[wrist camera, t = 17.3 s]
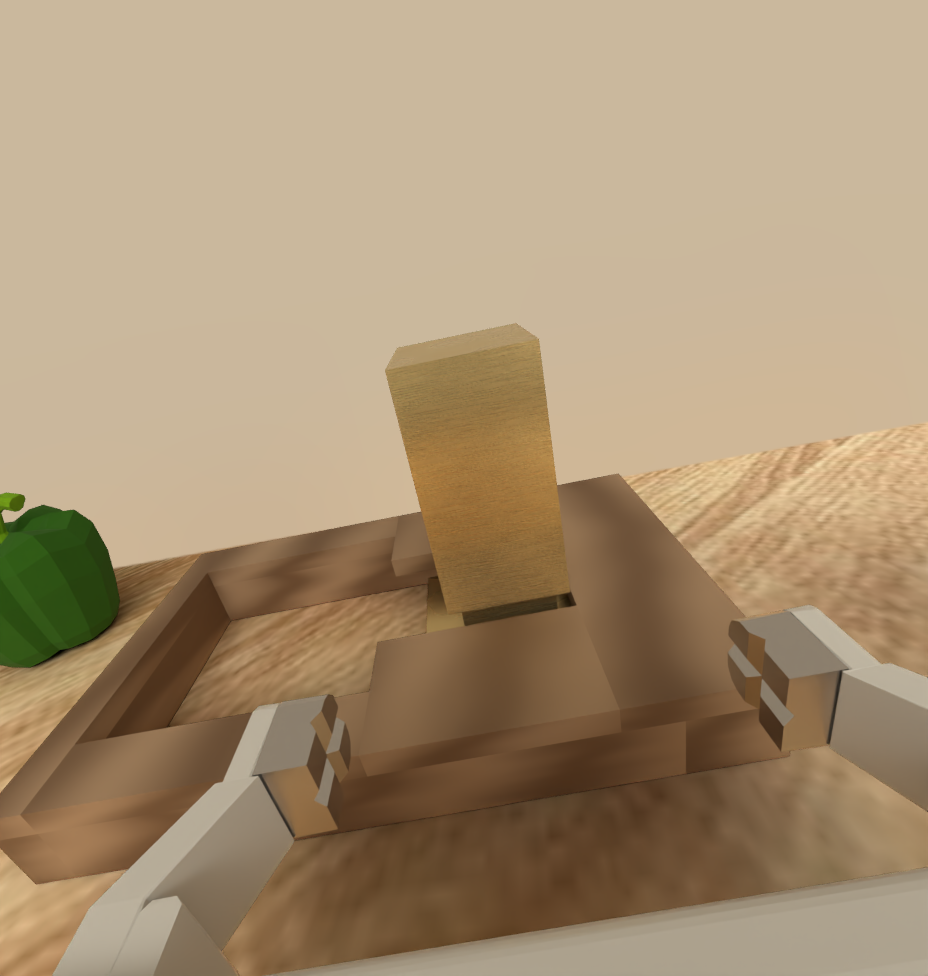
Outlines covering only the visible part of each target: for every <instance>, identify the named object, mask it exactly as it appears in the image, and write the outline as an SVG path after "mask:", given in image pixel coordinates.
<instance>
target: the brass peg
mask: <svg viewBox="0 0 928 976" xmlns="http://www.w3.org/2000/svg"><path fill="white" fill-rule="evenodd" d="M385 372H386V376H387V380H388V384H389V388H390V392H391V395H392V399H393V403H394V407H395V411H396V415H397V419H398V423H399V427H400V431H401V434H402V438H403V442H404V446H405V450H406V454H407V457H408V461H409V465H410V469H411V473H412V477H413V481H414V485H415V489H416V493H417V496H418V500H419V504H420V508H421V512H422V516H423V520H424V524H425V527H426V531H427V535H428V539H429V543H430V547H431V551H432V555H433V558H434V562H435V566H436V570H437V574H438V576H435V577H429V578H428V599H427V627H426V633H430V632H435V631H440V630H446V629H451V628H457V627H462V626H468V625H473V624H478V623H484V622H489V621H495V620H500V619H506V618H511V617H516V616H522V615H527V614H533V613H538V612H544V611H549V610H554V609H560V608H565V607H571V603H570V601H569V598H568V596H567V593H570V587H569V579H568V571H567V563H566V555H565V547H564V539H563V531H562V523H561V514H560V506H559V498H558V490H557V482H556V474H555V466H554V458H553V450H552V441H551V434H550V425H549V418H548V409H547V401H546V393H545V385H544V377H543V369H542V361H541V353H540V344H539V339H538V338H537V337H535V336H534V335H532V334H531V333H530V332H528V331H526V330H525V329H524V328H522V327H521V326H519V325H518V324H516V323H515V324H511V325H506V326H501V327H496V328H491V329H486V330H482V331H476V332H472V333H467V334H462V335H457V336H452V337H447V338H443V339H438V340H433V341H428V342H424V343H418V344H414V345H409V346H404V347H399V348H397V350H396V351H395V353H394V355H393V357H392V359H391V360H390V362H389V364H388V366H387V368H386V369H385Z"/></svg>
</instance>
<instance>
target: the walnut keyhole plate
mask: <svg viewBox="0 0 928 976" xmlns="http://www.w3.org/2000/svg"><path fill="white" fill-rule="evenodd" d="M557 490H558V498H559V506H560V514H561V523H562V531H563V539H564V547H565V555H566V563H567V571H568V579H569V587H570V593H567V596H568V598H569V601H570V603H571V607H565V608H560V609H554V610H549V611H544V612H538V613H533V614H527V615H522V616H516V617H511V618H506V619H500V620H495V621H489V622H484V623H478V624H473V625H468V626H462V627H457V628H451V629H446V630H440V631H435V632H430V633H424V634H419V635H413V636H408V637H402V638H397V639H392V640H386V641H381V642H378V643H377V649H376V655H375V661H374V667H373V673H372V679H371V685H370V691H368V692H362V693H357V694H351V695H346V696H340V697H335V698H334V699H335V701H336V703H337V705H338V711H337V715H336V717H337V718H339V719H340V720H342V721H344V722H345V724H346V727H347V729H348V732H349V737H350V742H351V759H350V765H349V772H348V773H347V774H346V776H345V777H344V778H343V779H342V781H341V782H340V785H341V787H342V790H343V792H344V799H343V804H342V810H341V815H340V820H339V826H338V829H336V830H331V831H326V832H321V833H317V834H312V835H307V836H302V837H297V838H294V840H300V839H306V838H312V837H317V836H323V835H329V834H335V833H341V832H347V831H353V830H359V829H365V828H370V827H376V826H382V825H388V824H394V823H400V822H406V821H412V820H417V819H423V818H429V817H435V816H441V815H447V814H453V813H459V812H464V811H470V810H476V809H482V808H488V807H494V806H500V805H506V804H511V803H517V802H523V801H529V800H535V799H541V798H547V797H553V796H558V795H564V794H570V793H576V792H582V791H588V790H594V789H600V788H605V787H611V786H617V785H623V784H629V783H635V782H641V781H647V780H652V779H658V778H664V777H670V776H676V775H682V774H688V773H694V772H700V771H705V770H711V769H717V768H723V767H729V766H735V765H741V764H747V763H752V762H758V761H764V760H770V759H776V758H782V757H788V756H790V751H786V752H781V751H780V750H779V749H778V747H777V746H776V744H775V743H774V742H773V740H772V739H771V737H770V736H769V735H768V733H767V732H766V731H765V729H764V728H763V726H762V725H761V724H760V722H759V709H758V708H756V707H754V706H752V705H750V704H748V703H747V702H745V701H744V700H743V698H742V697H741V695H740V694H739V693H738V691H737V689H736V687H735V685H734V683H733V681H732V679H731V676H730V672H729V668H728V652H729V650H730V649H731V648H732V647H733V645H734V644H735V643H734V642H733V641H732V640H731V638H730V637H729V636H728V633H729V625H730V623H731V621H732V620H734V619H739V618H744V617H745V616H744V615H743V614H742V612H741V611H740V610H739V609H738V608H737V607H736V606H735V605H734V603H733V602H732V601H731V600H730V599H729V598H728V597H727V595H726V594H725V593H724V592H723V591H722V590H721V589H720V588H719V586H718V585H717V584H716V583H715V582H714V581H713V580H712V579H711V577H710V576H709V575H708V574H707V573H706V572H705V571H704V570H703V568H702V567H701V566H700V565H699V564H698V563H697V562H696V561H695V559H694V558H693V557H692V556H691V555H690V554H689V553H688V551H687V550H686V549H685V548H684V547H683V546H682V545H681V544H680V542H679V541H678V540H677V539H676V538H675V537H674V536H673V535H672V533H671V532H670V531H669V530H668V529H667V528H666V527H665V526H664V524H663V523H662V522H661V521H660V520H659V519H658V518H657V516H656V515H655V514H654V513H653V512H652V511H651V510H650V509H649V507H648V506H647V505H646V504H645V503H644V502H643V501H642V500H641V498H640V497H639V496H638V495H637V494H636V493H635V492H634V491H633V489H632V488H631V487H630V486H629V485H628V484H627V483H626V482H625V480H624V479H623V478H622V477H621V476H620V475H619V474H614V475H608V476H603V477H598V478H593V479H588V480H583V481H578V482H572V483H568V484H562V485H557ZM435 576H438V574H437V570H436V566H435V562H434V558H433V555H432V551H431V547H430V543H429V539H428V535H427V531H426V527H425V524H424V520H423V516H422V512H417V513H412V514H407V515H402V516H397V517H391V518H386V519H381V520H376V521H371V522H365V523H360V524H355V525H350V526H345V527H340V528H334V529H329V530H324V531H319V532H314V533H309V534H303V535H298V536H293V537H288V538H283V539H278V540H272V541H267V542H262V543H257V544H252V545H247V546H241V547H236V548H231V549H226V550H221V551H216V552H210V553H205V554H201V556H200V557H199V558H198V559H197V560H196V561H195V563H194V564H193V565H192V566H191V567H190V569H189V570H188V571H187V572H186V573H185V575H184V576H183V577H182V578H181V579H180V580H179V582H178V583H177V584H176V585H175V586H174V588H173V589H172V590H171V591H170V592H169V594H168V595H167V596H166V597H165V598H164V599H163V601H162V602H161V603H160V604H159V605H158V607H157V608H156V609H155V610H154V611H153V613H152V614H151V615H150V616H149V617H148V618H147V620H146V621H145V622H144V623H143V624H142V626H141V627H140V628H139V629H138V630H137V632H136V633H135V634H134V635H133V636H132V637H131V639H130V640H129V641H128V642H127V643H126V645H125V646H124V647H123V648H122V649H121V650H120V652H119V653H118V654H117V655H116V656H115V658H114V659H113V660H112V661H111V662H110V664H109V665H108V666H107V667H106V668H105V669H104V671H103V672H102V673H101V674H100V675H99V677H98V678H97V679H96V680H95V681H94V683H93V684H92V685H91V686H90V687H89V688H88V690H87V691H86V692H85V693H84V694H83V696H82V697H81V698H80V699H79V700H78V702H77V703H76V704H75V705H74V706H73V707H72V709H71V710H70V711H69V712H68V713H67V715H66V716H65V717H64V718H63V719H62V721H61V722H60V723H59V724H58V725H57V726H56V728H55V729H54V730H53V731H52V732H51V734H50V735H49V736H48V737H47V738H46V740H45V741H44V742H43V743H42V744H41V745H40V747H39V748H38V749H37V750H36V751H35V753H34V754H33V755H32V756H31V757H30V758H29V760H28V761H27V762H26V763H25V764H24V766H23V767H22V768H21V769H20V770H19V772H18V773H17V774H16V775H15V776H14V777H13V779H12V780H11V781H10V782H9V783H8V785H7V786H6V787H5V788H4V789H3V791H2V792H1V793H0V848H1V849H2V850H3V851H4V852H5V854H6V855H7V856H8V857H9V858H10V859H11V860H12V861H13V862H14V863H15V864H16V865H17V866H18V867H19V868H20V869H21V870H22V871H23V872H24V873H25V874H26V875H27V876H28V877H29V878H30V879H31V880H32V881H33V882H34V883H35V884H41V883H47V882H53V881H59V880H65V879H71V878H77V877H82V876H88V875H94V874H100V873H106V872H112V871H118V870H124V869H129V868H130V867H131V866H132V865H133V864H134V863H135V862H136V861H137V860H138V859H139V858H140V857H141V856H142V855H143V854H144V853H145V852H146V851H147V850H148V849H149V848H150V847H152V846H153V845H154V844H155V843H156V842H157V841H158V840H159V839H160V838H161V837H162V836H163V835H164V834H165V833H166V832H167V831H168V830H169V829H170V828H171V827H172V826H173V825H174V824H175V823H176V822H177V821H178V820H179V819H180V818H181V817H182V816H183V815H184V814H185V813H186V812H187V811H188V810H189V809H190V808H191V807H192V806H193V805H194V804H195V803H196V802H197V801H198V800H199V799H200V798H201V797H202V796H203V795H204V794H205V793H206V792H207V791H208V790H209V789H210V788H211V787H212V786H213V785H214V784H215V783H220V782H223V780H224V778H225V775H226V773H227V771H228V768H229V766H230V764H231V761H232V759H233V757H234V754H235V752H236V750H237V747H238V745H239V743H240V740H241V738H242V736H243V733H244V731H245V729H246V726H247V724H248V722H249V719H250V717H251V715H252V713H253V712H252V713H246V714H241V715H235V716H230V717H224V718H218V719H213V720H207V721H202V722H196V723H191V724H185V725H180V726H174V727H169V728H167V726H168V725H169V723H170V721H171V720H172V718H173V716H174V715H175V713H176V711H177V710H178V708H179V706H180V705H181V703H182V701H183V700H184V698H185V696H186V695H187V693H188V691H189V690H190V688H191V686H192V685H193V683H194V681H195V680H196V678H197V676H198V675H199V673H200V671H201V670H202V668H203V666H204V665H205V663H206V661H207V660H208V658H209V656H210V655H211V653H212V651H213V650H214V648H215V646H216V645H217V643H218V641H219V640H220V638H221V636H222V635H223V633H224V631H225V630H226V628H227V626H228V625H229V623H230V621H231V620H236V619H242V618H247V617H252V616H258V615H263V614H268V613H274V612H279V611H284V610H290V609H295V608H300V607H306V606H311V605H316V604H321V603H327V602H332V601H337V600H343V599H348V598H353V597H359V596H364V595H369V594H375V593H380V592H385V591H391V590H396V589H401V588H407V587H412V586H417V585H423V584H428V578H429V577H435Z"/></svg>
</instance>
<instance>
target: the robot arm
mask: <svg viewBox="0 0 928 976" xmlns="http://www.w3.org/2000/svg"><path fill="white" fill-rule="evenodd" d="M728 636H729V637H730V638H731V640H732V641H733V642H734V643H735V644H734V645H733V647H732V648H731V649H730V650H729V652H728V668H729V672H730V676H731V679H732V681H733V683H734V685H735V687H736V689H737V691H738V693H739V694H740V695H741V697H742V698H743V700H744V701H745V702H747V703H748V704H750V705H752V706H754V707H756V708H758V709H759V722H760V724H761V725H762V726H763V728H764V729H765V731H766V732H767V733H768V735H769V736H770V737H771V739H772V740H773V742H774V743H775V744H776V746H777V747H778V749H779V750H780V751H781V752H786V751H793V750H800V749H807V748H814V747H821V746H828V745H830V746H829V748H830V749H832V750H833V751H835V752H836V753H838V754H839V755H841V756H843V757H844V758H846V759H847V760H849V761H850V762H852V763H853V764H855V765H856V766H858V767H859V768H861V769H863V770H864V771H866V772H867V773H869V774H870V775H872V776H873V777H875V778H876V779H878V780H879V781H881V782H882V783H884V784H886V785H887V786H889V787H890V788H892V789H893V790H895V791H896V792H898V793H899V794H901V795H902V796H904V797H906V798H907V799H909V800H910V801H912V802H913V803H915V804H916V805H918V806H919V807H921V808H922V809H924V810H925V811H927V812H928V677H925V676H922V675H920V674H917V673H915V672H912V671H910V670H907V669H905V668H902V667H899V666H897V665H894V664H892V663H886V664H881V663H880V662H878V661H877V660H876V659H875V658H874V657H873V656H872V655H870V654H869V653H868V652H867V651H866V650H865V649H864V648H862V647H861V646H860V645H859V644H858V643H857V642H856V641H854V640H853V639H852V638H851V637H850V636H849V635H848V634H846V633H845V632H844V631H843V630H842V629H841V628H840V627H838V626H837V625H836V624H835V623H834V622H833V621H832V620H830V619H829V618H828V617H827V616H826V615H825V614H824V613H822V612H821V611H820V610H819V609H818V608H816V607H814V606H811V605H806V606H801V607H795V608H790V609H785V610H783V611H775V612H770V613H765V614H760V615H755V616H750V617H744V618H739V619H734V620H732V621H731V623H730V625H729V633H728ZM337 711H338V705H337V703H336V701H335V699H334V697H333V695H322V696H316V697H309V698H303V699H297V700H290V701H284V702H281V703H275V704H268V705H262V706H258V707H257V708H256V709H255V710H254V711H253V713H252V715H251V717H250V719H249V722H248V724H247V726H246V729H245V731H244V733H243V736H242V738H241V740H240V743H239V745H238V747H237V750H236V752H235V754H234V757H233V759H232V761H231V764H230V766H229V768H228V771H227V773H226V775H225V778H224V780H223V782H220V783H215V784H214V785H213V786H212V787H211V788H210V789H209V790H208V791H207V792H206V793H205V794H204V795H203V796H202V797H201V798H200V799H199V800H198V801H197V802H196V803H195V804H194V805H193V806H192V807H191V808H190V809H189V810H188V811H187V812H186V813H185V814H184V815H183V816H182V817H181V818H180V819H179V820H178V821H177V822H176V823H175V824H174V825H173V826H172V827H171V828H170V829H169V830H168V831H167V832H166V833H165V834H164V835H163V836H162V837H161V838H160V839H159V840H158V841H157V842H156V843H155V844H154V845H153V846H152V847H150V848H149V849H148V850H147V851H146V852H145V853H144V854H143V855H142V856H141V857H140V858H139V859H138V860H137V861H136V862H135V863H134V864H133V865H132V866H131V867H130V868H129V869H128V870H127V871H126V872H125V873H124V874H123V875H122V876H121V877H120V878H119V879H118V880H117V881H116V882H115V883H114V884H113V885H112V886H111V887H110V888H109V889H108V890H107V891H106V892H105V893H104V894H103V895H102V896H101V897H100V898H99V899H98V900H97V901H96V902H95V903H94V904H93V905H92V906H91V907H90V908H89V910H88V912H87V913H86V915H85V917H84V919H83V921H82V923H81V924H80V926H79V928H78V930H77V932H76V933H75V935H74V937H73V939H72V941H71V942H70V944H69V946H68V948H67V950H66V951H65V953H64V955H63V957H62V959H61V960H60V962H59V964H58V966H57V968H56V970H55V971H54V973H53V975H52V976H239V973H238V971H237V970H236V969H235V968H234V966H233V965H232V964H231V963H230V961H229V960H228V959H227V958H226V956H225V955H224V954H223V953H222V950H223V948H224V947H225V945H226V944H227V942H228V941H229V939H230V938H231V936H232V935H233V933H234V932H235V930H236V929H237V927H238V926H239V924H240V923H241V921H242V920H243V918H244V917H245V915H246V914H247V912H248V911H249V909H250V908H251V906H252V905H253V903H254V902H255V900H256V899H257V897H258V896H259V894H260V893H261V891H262V890H263V888H264V886H265V885H266V883H267V882H268V880H269V879H270V877H271V876H272V874H273V873H274V871H275V870H276V868H277V867H278V865H279V864H280V862H281V861H282V859H283V858H284V856H285V855H286V853H287V852H288V850H289V849H290V847H291V846H292V844H293V843H294V838H297V837H302V836H307V835H312V834H317V833H321V832H326V831H331V830H336V829H338V826H339V820H340V815H341V810H342V804H343V799H344V792H343V790H342V787H341V785H340V782H341V781H342V779H343V778H344V777H345V776H346V774H347V773H348V772H349V765H350V759H351V742H350V737H349V732H348V729H347V727H346V724H345V722H344V721H342V720H340V719H339V718H337V717H336V715H337ZM264 976H928V867H925V868H919V869H913V870H907V871H901V872H894V873H888V874H882V875H876V876H870V877H864V878H858V879H852V880H846V881H840V882H833V883H827V884H821V885H815V886H809V887H803V888H796V889H790V890H784V891H778V892H772V893H766V894H760V895H753V896H747V897H741V898H735V899H729V900H723V901H716V902H710V903H704V904H698V905H692V906H686V907H679V908H673V909H667V910H661V911H655V912H649V913H643V914H636V915H630V916H624V917H618V918H612V919H606V920H600V921H594V922H588V923H581V924H575V925H569V926H563V927H557V928H551V929H545V930H539V931H533V932H527V933H521V934H514V935H508V936H502V937H496V938H490V939H484V940H478V941H472V942H466V943H460V944H453V945H447V946H441V947H435V948H429V949H423V950H417V951H411V952H405V953H398V954H392V955H386V956H380V957H374V958H368V959H362V960H356V961H350V962H343V963H337V964H331V965H325V966H319V967H313V968H307V969H301V970H295V971H288V972H282V973H276V974H270V975H264Z"/></svg>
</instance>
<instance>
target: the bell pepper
mask: <svg viewBox="0 0 928 976" xmlns="http://www.w3.org/2000/svg"><path fill="white" fill-rule="evenodd" d="M24 502H25V497H24V495H21V494H14V493H4V494H0V665H3V666H8V667H24V668H30V667H32V666H34V665H36V664H38V663H40V662H42V661H44V660H46V659H48V658H50V657H51V656H52V655H54V654H55V653H57V652H58V651H59V650H63V649H69V648H72V647H74V646H77V645H79V644H82V643H84V642H86V641H89V640H91V639H93V638H94V637H95V636H97V635H98V634H99V633H101V632H102V631H103V630H104V629H106V628H107V627H108V626H110V624H111V623H112V621H113V620H114V619H115V617H116V616H117V613H118V608H119V603H120V599H119V593H118V588H117V583H116V578H115V574H114V571H113V567H112V564H111V560H110V557H109V553H108V549H107V547H106V546H105V544H104V542H103V540H102V539H101V537H100V535H99V533H98V531H97V529H96V528H95V526H94V524H93V523H92V522H91V521H90V520H88V519H87V518H86V517H84V516H83V515H81V514H80V513H78V512H77V511H75V510H67V511H62V510H60V509H57V508H53V507H49V506H45V505H41V506H38V507H35V508H32V509H29V510H28V511H27V512H25V513H24V514H23V515H22V516H20V517H19V518H18V519H17V520H16V521H14V522H8V523H4V521H3V517H2V514H1V513H2V511H3V510H10V511H19V510H21V509H22V508H23V506H24Z"/></svg>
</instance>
